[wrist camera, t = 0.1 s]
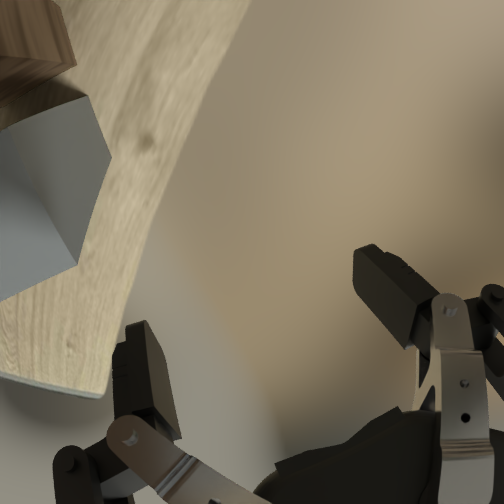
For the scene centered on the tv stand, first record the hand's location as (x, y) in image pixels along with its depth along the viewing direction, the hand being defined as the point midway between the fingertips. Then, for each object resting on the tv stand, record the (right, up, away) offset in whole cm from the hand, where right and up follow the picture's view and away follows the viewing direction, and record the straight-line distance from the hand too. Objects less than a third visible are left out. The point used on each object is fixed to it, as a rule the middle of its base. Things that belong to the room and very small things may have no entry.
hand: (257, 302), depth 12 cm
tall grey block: (-22, +14, +19) cm, 32 cm away
